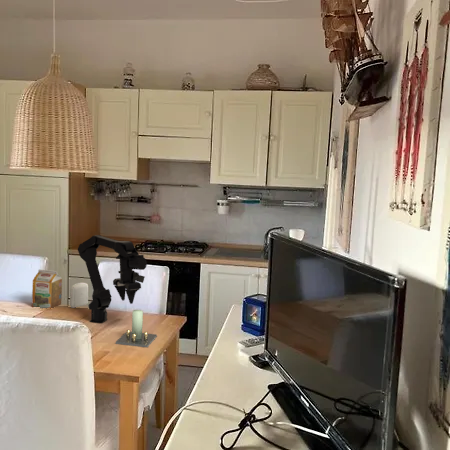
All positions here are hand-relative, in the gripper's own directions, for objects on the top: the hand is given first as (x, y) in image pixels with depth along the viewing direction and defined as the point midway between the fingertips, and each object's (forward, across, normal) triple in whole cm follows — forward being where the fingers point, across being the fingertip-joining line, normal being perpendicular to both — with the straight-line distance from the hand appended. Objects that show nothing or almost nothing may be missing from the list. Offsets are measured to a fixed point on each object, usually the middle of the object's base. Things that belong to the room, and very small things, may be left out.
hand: (127, 302), depth 221 cm
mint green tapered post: (+13, -14, +2) cm, 20 cm away
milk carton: (+7, +52, +23) cm, 58 cm away
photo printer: (+8, +46, +8) cm, 48 cm away
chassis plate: (+14, -14, +2) cm, 20 cm away
